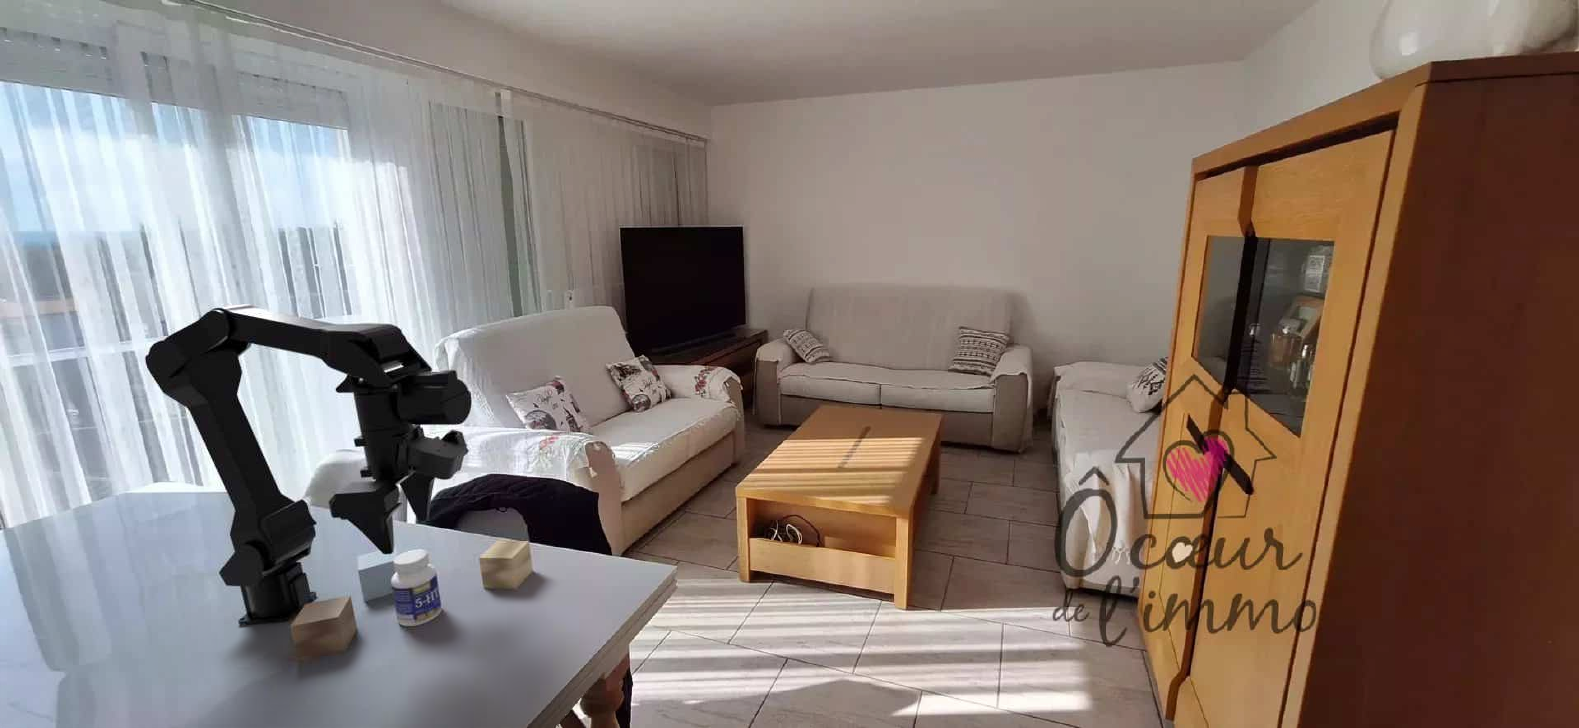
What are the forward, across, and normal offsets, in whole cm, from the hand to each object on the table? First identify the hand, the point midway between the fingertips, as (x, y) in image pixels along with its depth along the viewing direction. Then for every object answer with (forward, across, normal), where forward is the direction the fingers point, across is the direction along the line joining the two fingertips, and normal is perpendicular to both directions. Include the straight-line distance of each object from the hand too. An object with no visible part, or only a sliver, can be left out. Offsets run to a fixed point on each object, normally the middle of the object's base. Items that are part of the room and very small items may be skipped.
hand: (406, 536), depth 84 cm
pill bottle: (+12, 0, 0) cm, 12 cm away
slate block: (+12, +8, +9) cm, 17 cm away
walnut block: (+12, -5, +9) cm, 16 cm away
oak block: (+12, +8, -9) cm, 17 cm away
